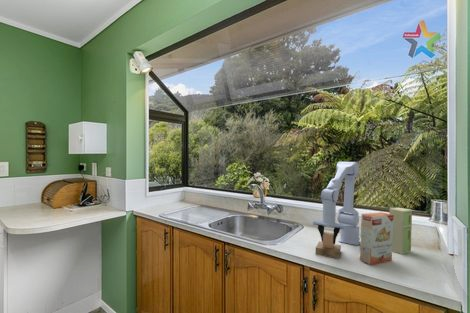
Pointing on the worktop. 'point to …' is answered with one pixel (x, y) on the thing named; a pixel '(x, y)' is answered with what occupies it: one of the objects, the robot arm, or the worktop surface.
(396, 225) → the toy refrigerator
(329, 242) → the tan block
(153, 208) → the worktop surface
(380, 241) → the cracker box
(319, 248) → the walnut block
